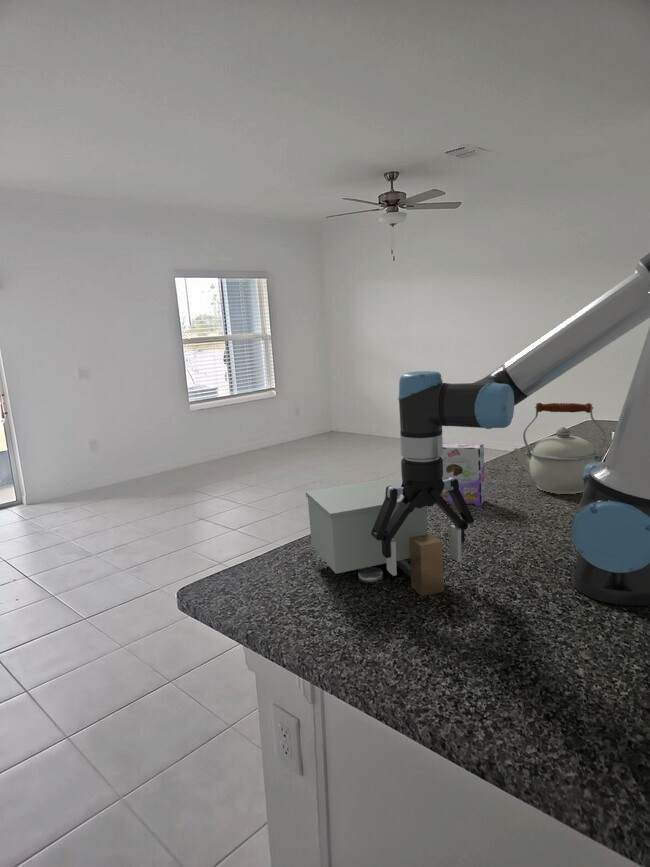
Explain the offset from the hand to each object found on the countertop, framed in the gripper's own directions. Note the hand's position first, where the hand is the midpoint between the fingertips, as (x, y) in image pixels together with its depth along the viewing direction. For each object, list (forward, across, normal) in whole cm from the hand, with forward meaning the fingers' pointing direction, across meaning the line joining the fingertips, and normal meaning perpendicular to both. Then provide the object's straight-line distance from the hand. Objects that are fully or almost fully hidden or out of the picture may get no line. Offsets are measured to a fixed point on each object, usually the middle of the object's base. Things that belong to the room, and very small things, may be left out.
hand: (424, 566), depth 105 cm
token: (+5, +7, -10) cm, 13 cm away
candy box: (+5, -33, -42) cm, 54 cm away
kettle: (+5, -64, -39) cm, 75 cm away
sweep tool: (+5, 0, -5) cm, 7 cm away
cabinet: (+5, +6, -14) cm, 16 cm away
